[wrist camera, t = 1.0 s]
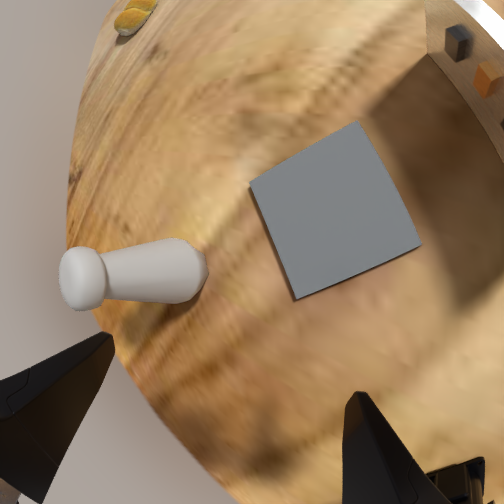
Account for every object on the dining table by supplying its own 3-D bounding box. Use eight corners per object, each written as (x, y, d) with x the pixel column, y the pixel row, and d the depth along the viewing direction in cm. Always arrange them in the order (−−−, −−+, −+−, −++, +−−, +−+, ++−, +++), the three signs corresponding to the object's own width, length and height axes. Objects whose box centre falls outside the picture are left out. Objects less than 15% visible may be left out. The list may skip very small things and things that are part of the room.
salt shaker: (167, 291, 29) (51, 308, 18) (172, 235, 28) (51, 231, 17) (212, 306, 26) (85, 337, 15) (220, 243, 26) (86, 242, 14)
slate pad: (421, 244, 18) (422, 244, 17) (299, 297, 22) (296, 299, 22) (358, 123, 19) (357, 120, 19) (252, 183, 24) (248, 182, 23)
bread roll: (167, -5, 31) (150, -16, 28) (139, 35, 34) (121, 25, 30) (142, 1, 35) (127, -8, 31) (118, 38, 37) (101, 30, 34)
